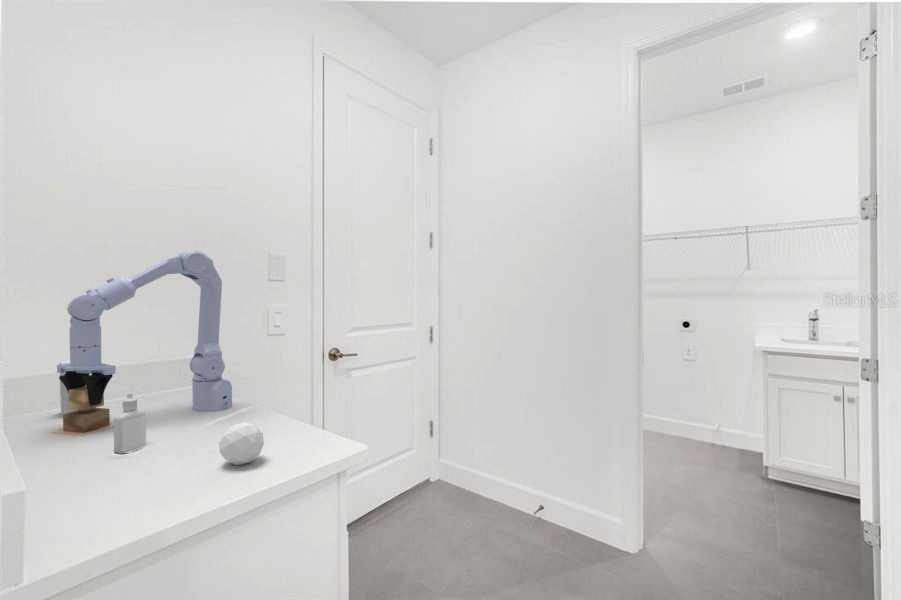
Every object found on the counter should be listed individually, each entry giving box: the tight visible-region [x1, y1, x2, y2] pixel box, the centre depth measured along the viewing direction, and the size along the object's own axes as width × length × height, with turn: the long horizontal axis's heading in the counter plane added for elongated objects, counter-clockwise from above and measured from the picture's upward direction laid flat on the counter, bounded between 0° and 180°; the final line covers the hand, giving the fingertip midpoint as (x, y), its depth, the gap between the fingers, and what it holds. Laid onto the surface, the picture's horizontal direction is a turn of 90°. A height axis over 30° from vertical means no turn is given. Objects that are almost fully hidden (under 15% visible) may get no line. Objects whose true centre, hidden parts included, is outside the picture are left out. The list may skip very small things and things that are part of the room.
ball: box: [218, 421, 265, 466], centre depth 85 cm, size 8×8×8 cm
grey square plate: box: [51, 422, 114, 437], centre depth 107 cm, size 16×16×1 cm
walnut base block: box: [62, 407, 111, 433], centre depth 104 cm, size 6×6×4 cm
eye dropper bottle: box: [113, 392, 147, 456], centre depth 92 cm, size 4×6×12 cm
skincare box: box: [59, 360, 91, 417], centre depth 117 cm, size 8×6×15 cm
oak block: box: [69, 386, 105, 410], centre depth 104 cm, size 4×4×4 cm
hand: (86, 404), depth 104 cm, fingers closed on oak block, 4 cm apart
